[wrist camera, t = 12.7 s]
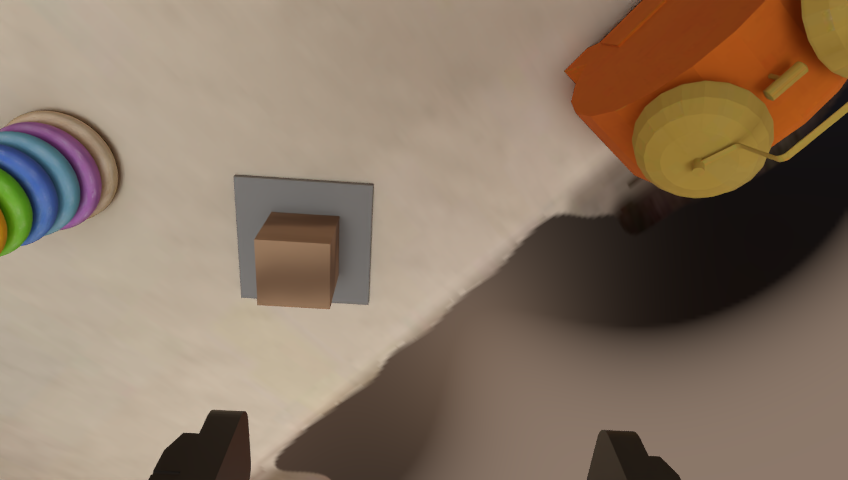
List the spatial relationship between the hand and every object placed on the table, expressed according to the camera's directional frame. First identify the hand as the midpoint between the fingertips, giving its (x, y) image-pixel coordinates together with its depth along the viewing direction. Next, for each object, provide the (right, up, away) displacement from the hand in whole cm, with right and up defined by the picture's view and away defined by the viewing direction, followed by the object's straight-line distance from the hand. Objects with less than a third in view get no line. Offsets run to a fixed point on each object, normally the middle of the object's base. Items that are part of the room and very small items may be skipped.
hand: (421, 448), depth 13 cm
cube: (-9, +4, +30) cm, 32 cm away
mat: (-9, +5, +31) cm, 32 cm away
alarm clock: (+15, +18, +25) cm, 35 cm away
